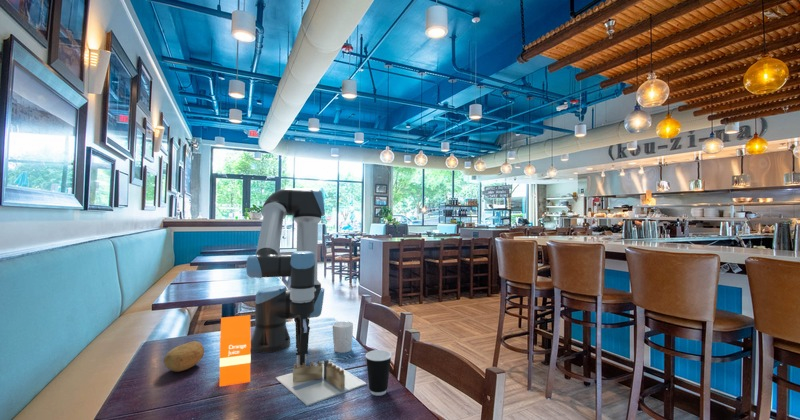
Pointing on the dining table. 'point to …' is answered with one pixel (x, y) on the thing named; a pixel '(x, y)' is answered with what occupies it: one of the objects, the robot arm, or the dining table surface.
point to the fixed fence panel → (334, 375)
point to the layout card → (318, 387)
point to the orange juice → (235, 350)
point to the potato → (184, 356)
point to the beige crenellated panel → (307, 372)
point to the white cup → (342, 336)
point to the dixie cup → (378, 371)
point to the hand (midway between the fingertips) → (301, 373)
